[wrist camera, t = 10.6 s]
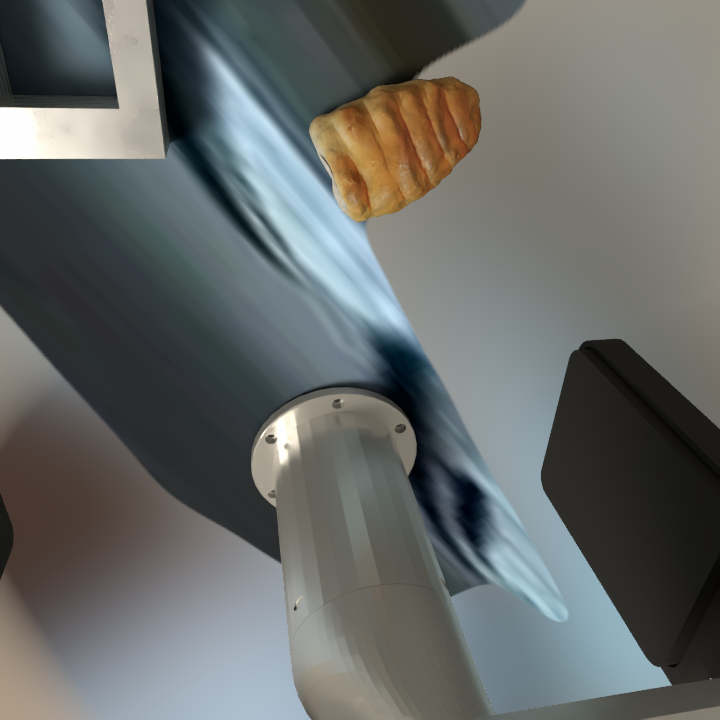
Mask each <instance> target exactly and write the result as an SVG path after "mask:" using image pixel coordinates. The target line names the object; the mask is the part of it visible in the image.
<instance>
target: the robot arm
mask: <svg viewBox="0 0 720 720" xmlns="http://www.w3.org/2000/svg"><path fill="white" fill-rule="evenodd" d="M416 446H417V442H416V438H415V434H414V430H413V428H412V426H411V423H410V421H409V419H408V417H407V416H406V415H405V413H404V412H403V411H402V409H401V408H400V407H398V406H397V405H396V404H395V403H394V402H393V401H392V400H390V399H388V398H386V397H384V396H382V395H380V394H378V393H375V392H372V391H369V390H366V389H359V388H351V387H338V388H328V389H323V390H317V391H314V392H311V393H308V394H305V395H302V396H300V397H298V398H296V399H294V400H292V401H290V402H288V403H286V404H285V405H284V406H282V407H281V408H280V409H278V410H277V411H276V412H274V413H273V414H272V415H271V416H270V417H269V419H268V420H267V421H266V422H265V423H264V424H263V425H262V427H261V429H260V430H259V432H258V434H257V436H256V438H255V441H254V444H253V447H252V453H251V467H252V476H253V479H254V482H255V485H256V487H257V488H258V490H259V491H260V493H261V494H262V496H263V497H264V498H265V499H266V500H267V501H268V502H269V503H271V504H272V505H273V506H275V507H276V508H277V519H278V529H279V540H280V550H281V561H282V571H283V582H284V592H285V602H286V613H287V624H288V634H289V645H290V655H291V664H292V673H293V679H294V684H295V687H296V690H297V693H298V697H299V699H300V701H301V702H302V705H303V707H304V709H305V711H306V713H307V714H308V715H309V717H310V718H311V720H720V429H719V428H718V427H717V426H716V425H715V424H714V423H712V422H711V421H710V420H709V419H708V418H707V417H706V416H705V415H704V414H703V413H702V412H701V411H699V410H698V409H697V408H696V407H695V406H694V405H693V404H692V403H691V402H690V401H689V400H687V399H686V398H685V397H684V396H683V395H682V394H681V393H680V392H678V390H677V389H675V388H674V387H673V386H672V385H671V384H670V383H669V382H668V381H667V380H666V379H665V378H664V377H662V376H661V375H660V374H659V373H658V372H657V371H656V370H655V369H654V368H653V367H651V366H650V365H649V364H648V363H647V362H646V361H645V360H644V359H643V358H642V357H641V356H640V355H638V354H637V353H636V352H635V351H634V350H633V349H632V348H631V347H630V346H629V345H628V344H627V343H625V342H624V341H622V340H621V339H606V340H591V341H585V342H583V343H582V345H581V346H580V347H579V350H575V351H573V353H572V354H571V356H570V358H569V362H568V366H567V370H566V374H565V378H564V382H563V386H562V390H561V394H560V398H559V402H558V406H557V410H556V414H555V418H554V422H553V426H552V430H551V434H550V438H549V442H548V446H547V450H546V454H545V458H544V462H543V466H542V470H541V481H542V486H543V489H544V491H545V493H546V495H547V497H548V498H549V500H550V501H551V503H552V505H553V506H554V508H555V510H556V511H557V513H558V515H559V516H560V518H561V519H562V521H563V523H564V524H565V526H566V528H567V529H568V531H569V532H570V534H571V536H572V537H573V539H574V541H575V542H576V544H577V545H578V547H579V549H580V550H581V552H582V554H583V555H584V557H585V559H586V560H587V562H588V563H589V565H590V567H591V568H592V570H593V572H594V573H595V575H596V576H597V578H598V580H599V581H600V582H601V585H602V586H603V588H604V589H605V591H606V593H607V594H608V596H609V597H610V599H611V601H612V603H613V604H614V606H615V607H616V609H617V611H618V612H619V614H620V615H621V617H622V619H623V620H624V622H625V624H626V625H627V627H628V628H629V630H630V632H631V633H632V635H633V637H634V638H635V640H636V641H637V643H638V645H639V647H640V648H641V650H642V651H643V653H644V654H645V656H646V658H647V659H648V660H649V661H650V662H651V663H652V664H653V665H655V666H657V667H661V668H662V670H663V671H664V673H665V675H666V676H667V678H668V679H669V681H670V683H671V684H672V686H666V687H660V688H654V689H649V690H642V691H636V692H631V693H624V694H618V695H612V696H606V697H600V698H594V699H588V700H582V701H576V702H570V703H564V704H558V705H552V706H546V707H540V708H534V709H528V710H522V711H516V712H510V713H504V714H498V715H496V714H495V712H494V710H493V708H492V706H491V703H490V701H489V699H488V697H487V694H486V692H485V689H484V687H483V684H482V682H481V680H480V677H479V675H478V672H477V669H476V667H475V664H474V661H473V659H472V656H471V654H470V651H469V648H468V645H467V643H466V640H465V637H464V634H463V632H462V629H461V626H460V623H459V620H458V618H457V615H456V612H455V609H454V607H453V604H452V601H451V598H450V595H449V592H448V589H447V586H446V583H445V581H444V578H443V575H442V572H441V569H440V566H439V564H438V561H437V558H436V555H435V552H434V550H433V547H432V544H431V541H430V538H429V535H428V533H427V530H426V527H425V524H424V521H423V518H422V516H421V513H420V510H419V507H418V504H417V502H416V499H415V496H414V493H413V490H412V487H411V485H410V482H409V479H408V476H409V474H410V472H411V470H412V467H413V465H414V461H415V458H416ZM12 546H13V528H12V524H11V521H10V518H9V516H8V513H7V511H6V508H5V505H4V502H3V500H2V497H1V495H0V579H1V576H2V574H3V571H4V569H5V566H6V563H7V560H8V558H9V555H10V552H11V550H12ZM710 678H712V679H711V680H710Z"/></svg>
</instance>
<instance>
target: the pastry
mask: <svg viewBox="0 0 720 720" xmlns="http://www.w3.org/2000/svg"><path fill="white" fill-rule="evenodd" d="M479 102H480V100H479V95H478V93H477V91H476V90H475V89H474V88H472V87H471V86H469V85H467V84H465V83H463V82H460V81H459V80H458V79H455V78H454V77H445V78H440V79H432V80H423V79H414V80H411V81H407V82H404V83H401V84H391V85H381V86H378V87H375V88H373V89H372V90H371V91H370V92H369V93H368V94H367V95H366V96H365V97H362V98H360V99H358V100H355V101H352V102H349V103H346V104H344V105H342V106H340V107H338V108H337V109H335V110H334V111H332V112H330V113H329V114H323V115H319V116H317V117H316V118H315V119H314V120H313V121H312V123H311V125H310V130H309V132H310V136H311V138H312V141H313V143H314V146H315V147H316V150H317V153H318V155H319V157H320V160H321V161H322V163H323V164H324V166H325V169H326V170H327V171H328V173H329V175H330V176H331V178H332V183H333V186H332V187H333V193H334V197H335V198H336V200H337V202H338V204H339V206H340V208H341V209H342V211H343V212H344V213H345V214H347V215H348V216H349V217H350V218H352V219H353V220H354V221H356V222H362V221H365V220H366V219H368V218H372V217H380V216H382V215H385V214H391V213H395V212H398V211H400V210H401V209H402V208H404V207H405V206H407V205H408V204H410V203H411V202H413V201H415V200H417V199H419V198H421V197H423V196H424V195H425V194H426V193H427V192H429V191H430V190H431V189H433V188H435V187H436V186H437V185H438V184H439V183H440V181H441V180H442V179H443V178H445V177H446V176H447V175H449V174H450V173H451V171H452V169H453V167H454V166H455V165H456V164H457V163H458V162H459V161H460V160H461V159H462V158H464V157H465V156H466V154H467V153H469V152H470V151H471V150H472V148H473V147H474V145H475V144H476V143H477V141H478V137H479V133H480V129H481V114H480V108H479Z"/></svg>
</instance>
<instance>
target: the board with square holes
mask: <svg viewBox="0 0 720 720" xmlns="http://www.w3.org/2000/svg"><path fill="white" fill-rule="evenodd" d="M103 7H104V13H105V20H106V26H107V32H108V39H109V45H110V52H111V58H112V64H113V71H114V77H115V84H116V90H117V96H118V97H110V96H52V95H13V92H12V88H11V84H10V80H9V76H8V72H7V68H6V64H5V60H4V55H3V51H2V47H1V43H0V159H165V158H166V155H167V151H168V147H169V144H170V142H169V133H168V125H167V116H166V108H165V99H164V91H163V82H162V74H161V65H160V56H159V48H158V39H157V31H156V22H155V14H154V5H153V0H103Z"/></svg>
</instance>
